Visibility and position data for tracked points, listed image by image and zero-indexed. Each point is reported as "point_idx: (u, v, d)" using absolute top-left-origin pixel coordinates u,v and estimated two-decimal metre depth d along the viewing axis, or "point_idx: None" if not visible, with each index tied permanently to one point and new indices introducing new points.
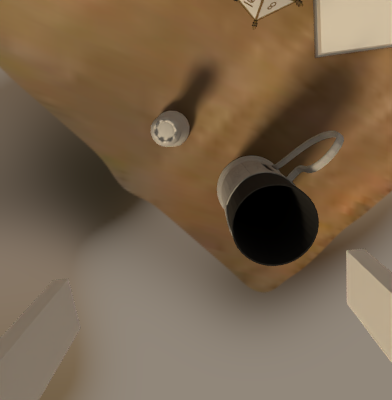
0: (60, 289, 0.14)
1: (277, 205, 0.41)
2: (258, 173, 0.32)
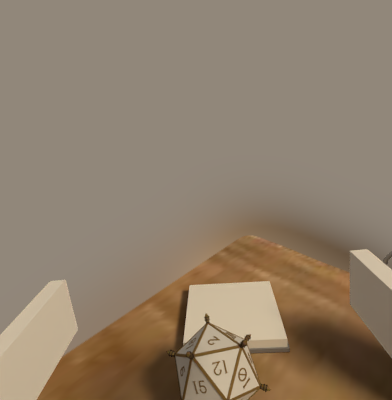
0: (57, 290, 0.14)
1: None
2: None
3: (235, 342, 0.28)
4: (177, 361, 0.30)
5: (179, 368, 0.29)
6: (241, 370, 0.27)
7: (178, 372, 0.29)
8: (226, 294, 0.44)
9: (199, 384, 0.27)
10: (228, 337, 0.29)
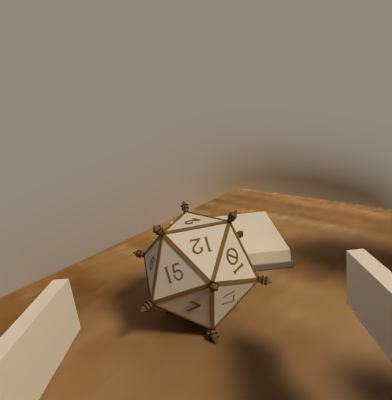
0: (60, 289, 0.14)
1: None
2: None
3: (221, 219, 0.21)
4: (146, 258, 0.22)
5: (148, 264, 0.22)
6: (230, 250, 0.20)
7: (147, 270, 0.22)
8: None
9: (173, 269, 0.19)
10: (212, 217, 0.22)
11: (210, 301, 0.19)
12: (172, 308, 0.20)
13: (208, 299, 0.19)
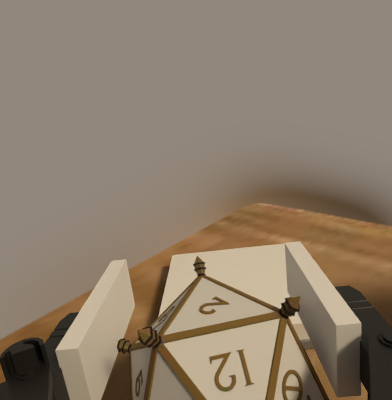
0: (121, 268, 0.16)
1: None
2: None
3: (267, 306, 0.11)
4: (132, 362, 0.13)
5: (134, 377, 0.12)
6: (288, 377, 0.10)
7: (132, 387, 0.12)
8: (231, 262, 0.27)
9: None
10: (249, 297, 0.12)
11: None
12: None
13: None
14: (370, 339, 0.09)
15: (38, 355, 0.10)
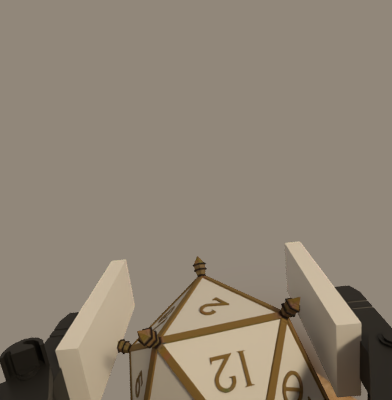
0: (121, 268, 0.16)
1: None
2: None
3: (268, 307, 0.11)
4: (132, 362, 0.13)
5: (134, 378, 0.12)
6: (288, 378, 0.10)
7: (132, 388, 0.12)
8: None
9: None
10: (249, 298, 0.12)
11: None
12: None
13: None
14: (370, 339, 0.09)
15: (38, 355, 0.10)
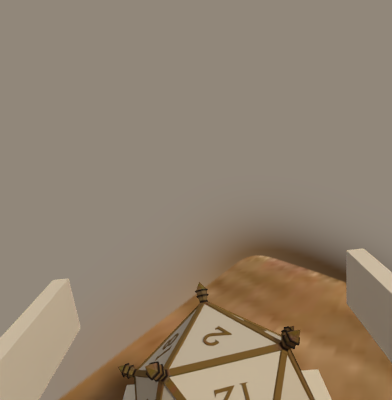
0: (60, 289, 0.14)
1: None
2: None
3: (269, 338, 0.12)
4: (138, 388, 0.13)
5: None
6: None
7: None
8: None
9: None
10: (251, 327, 0.12)
11: None
12: None
13: None
14: None
15: None
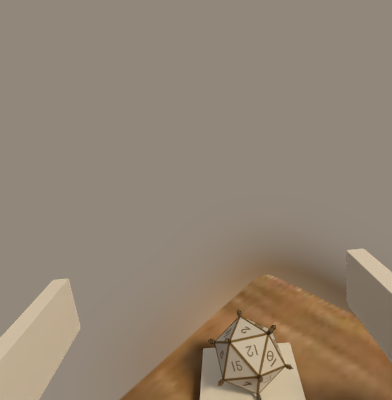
0: (60, 289, 0.14)
1: None
2: None
3: (263, 331, 0.35)
4: (217, 347, 0.37)
5: (219, 352, 0.37)
6: (268, 352, 0.34)
7: (218, 356, 0.37)
8: None
9: (236, 363, 0.34)
10: (257, 327, 0.36)
11: (257, 383, 0.34)
12: (235, 383, 0.35)
13: (256, 382, 0.34)
14: None
15: None
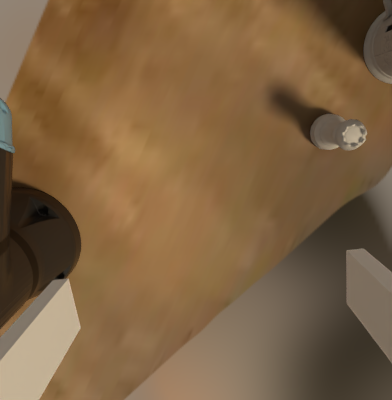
0: (60, 289, 0.14)
1: None
2: None
3: None
4: None
5: None
6: None
7: None
8: None
9: None
10: None
11: None
12: None
13: None
14: None
15: None
